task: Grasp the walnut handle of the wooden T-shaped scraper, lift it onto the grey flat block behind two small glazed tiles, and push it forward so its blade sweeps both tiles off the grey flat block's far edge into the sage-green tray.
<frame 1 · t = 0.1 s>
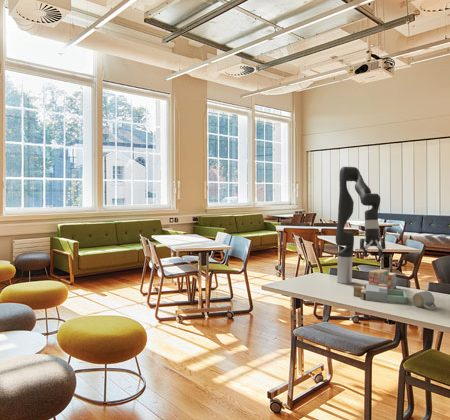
hand: (373, 257, 226), 22 cm above the table, tool pointing down, fingers open, 8 cm apart
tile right: (382, 290, 219), point 5 cm above the table, touching grey flat block
grey flat block: (376, 297, 225), on the table
tray: (396, 299, 220), on the table
tile left: (382, 287, 227), point 5 cm above the table, touching grey flat block
stack of blocks: (382, 290, 243), on the table
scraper: (357, 295, 228), on the table
ceramic mug: (425, 307, 206), on the table
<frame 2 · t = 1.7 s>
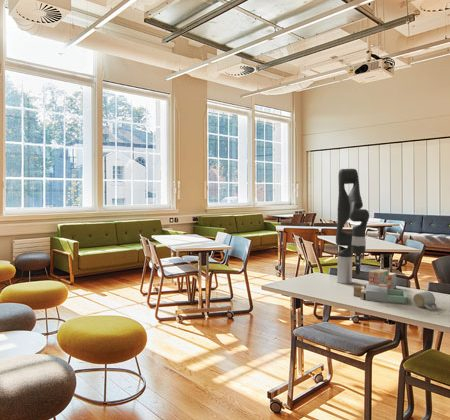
hand: (357, 272, 227), 13 cm above the table, tool pointing down, fingers open, 8 cm apart
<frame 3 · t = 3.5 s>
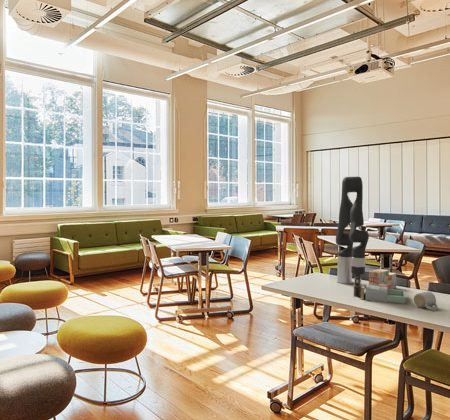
hand: (357, 295, 228), 0 cm above the table, tool pointing down, fingers closed on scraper, 4 cm apart
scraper: (357, 295, 228), on the table, touching gripper
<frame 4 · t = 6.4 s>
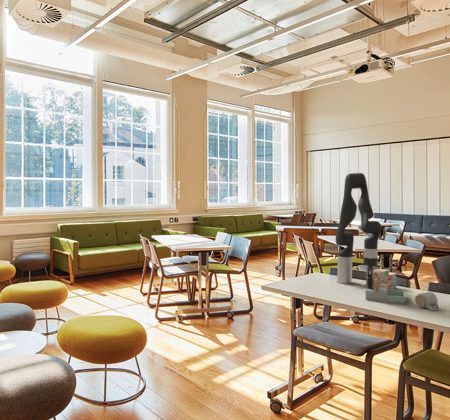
hand: (369, 286, 226), 6 cm above the table, tool pointing down, fingers closed on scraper, 4 cm apart
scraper: (369, 287, 226), point 5 cm above the table, touching gripper
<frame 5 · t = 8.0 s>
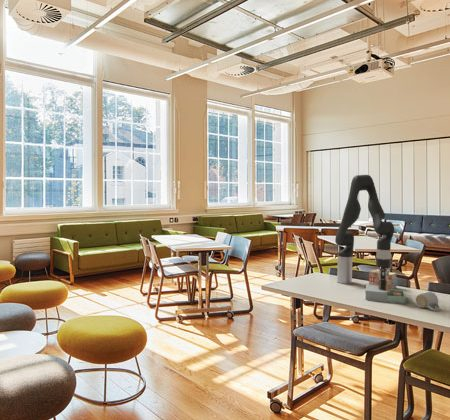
hand: (382, 288, 223), 6 cm above the table, tool pointing down, fingers closed on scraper, 4 cm apart
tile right: (398, 297, 217), point 2 cm above the table, tilted 180°, touching tray
tile left: (396, 293, 224), point 2 cm above the table, tilted 180°, touching tray
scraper: (382, 288, 223), point 5 cm above the table, touching gripper
when the fingers open (6 cm above the table, at t = 9.8 s): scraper stays where it is, resting on grey flat block.
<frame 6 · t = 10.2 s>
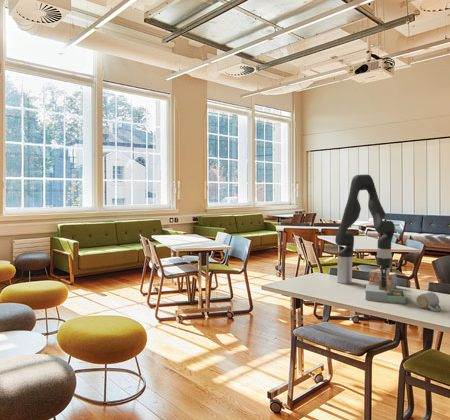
hand: (383, 285, 223), 7 cm above the table, tool pointing down, fingers open, 7 cm apart
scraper: (382, 288, 223), point 5 cm above the table, touching grey flat block
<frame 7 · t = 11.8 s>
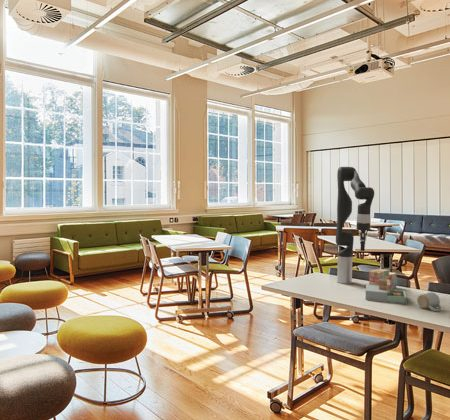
hand: (362, 249, 233), 25 cm above the table, tool pointing down, fingers open, 8 cm apart
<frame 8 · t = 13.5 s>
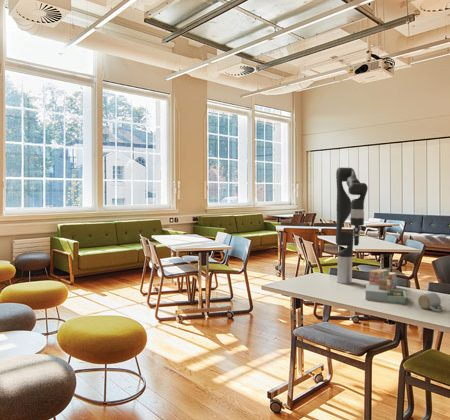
hand: (356, 244, 235), 28 cm above the table, tool pointing down, fingers open, 8 cm apart
at the end: tile left inside the target area (4.4 cm from its centre), point 2.2 cm above the table; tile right inside the target area (3.8 cm from its centre), point 2.2 cm above the table; the gripper is holding nothing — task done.
